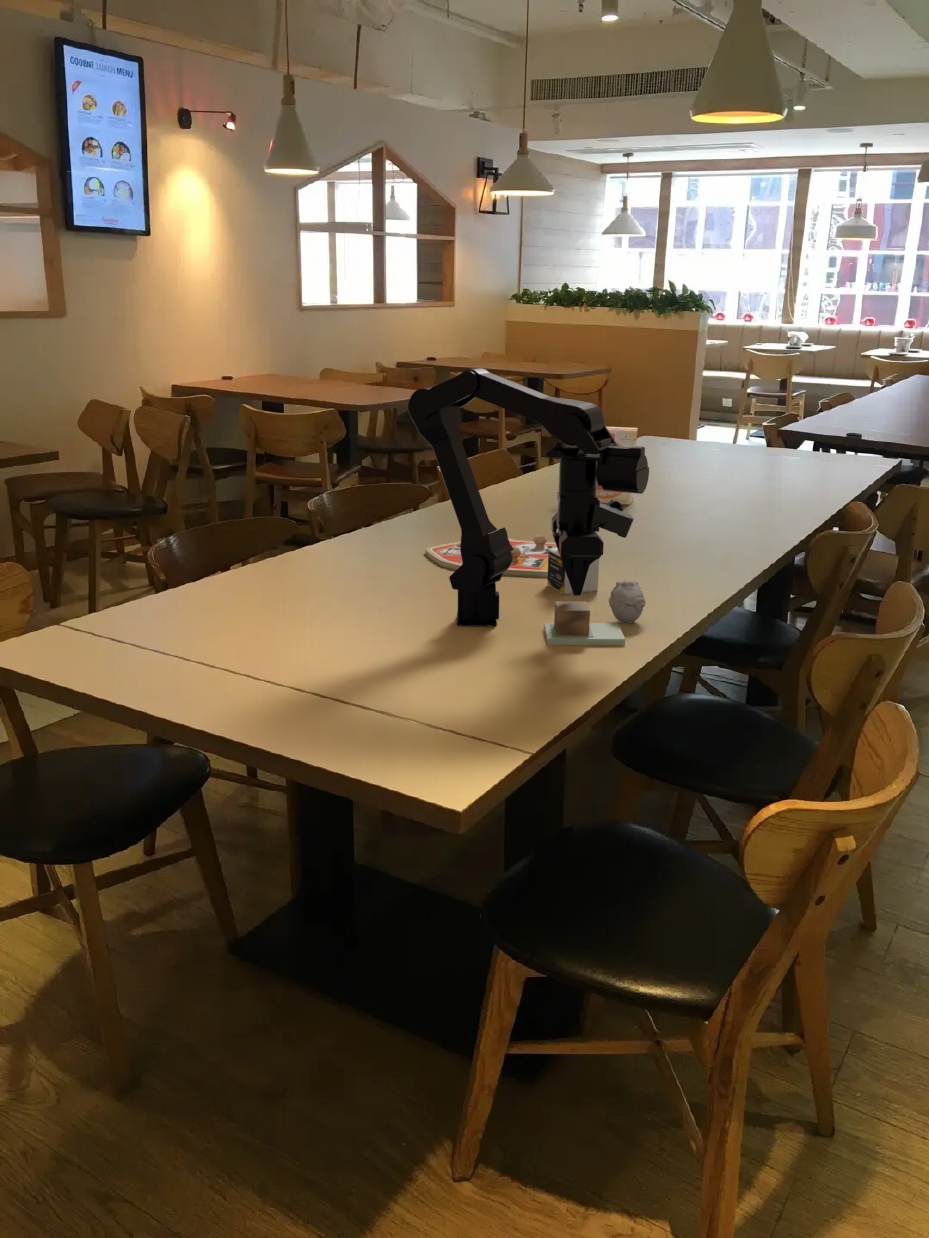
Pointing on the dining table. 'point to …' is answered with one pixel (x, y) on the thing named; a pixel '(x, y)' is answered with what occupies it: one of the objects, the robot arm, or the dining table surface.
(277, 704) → the dining table surface
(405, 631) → the dining table surface
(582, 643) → the base board
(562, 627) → the walnut block
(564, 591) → the medicine bottle
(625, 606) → the grey lumpy rounded piece
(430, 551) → the knob puzzle
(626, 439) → the coffeecake box
